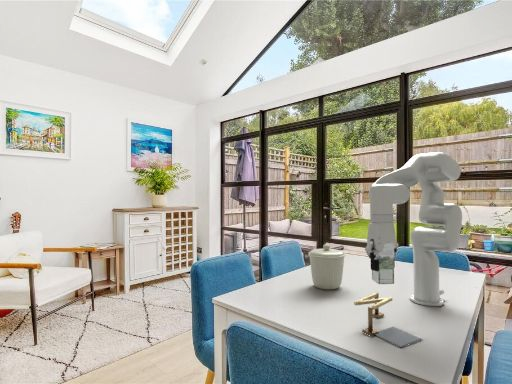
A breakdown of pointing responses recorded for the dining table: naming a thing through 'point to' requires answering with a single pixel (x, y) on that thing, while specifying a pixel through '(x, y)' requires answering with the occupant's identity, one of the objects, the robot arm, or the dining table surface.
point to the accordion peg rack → (371, 313)
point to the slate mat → (397, 336)
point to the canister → (327, 267)
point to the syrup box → (385, 265)
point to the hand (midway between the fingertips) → (382, 268)
